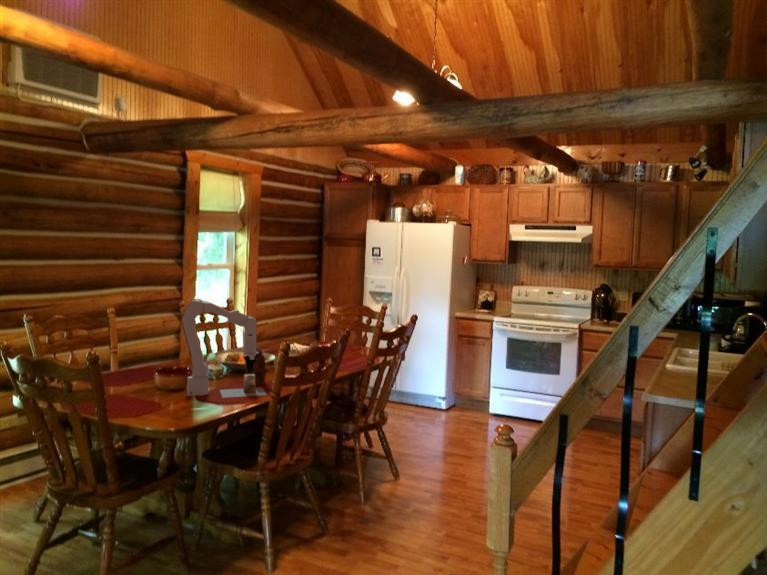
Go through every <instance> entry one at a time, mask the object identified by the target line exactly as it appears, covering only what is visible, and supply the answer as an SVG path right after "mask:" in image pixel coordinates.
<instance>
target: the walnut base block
mask: <svg viewBox="0 0 767 575" xmlns="http://www.w3.org/2000/svg"><path fill="white" fill-rule="evenodd" d="M256 388H257V384H255V385H245V384H244V383H243V388H242V389H243V391H244V393H245V394H248V393H256Z"/></svg>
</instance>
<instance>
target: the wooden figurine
mask: <svg viewBox="0 0 767 575" xmlns="http://www.w3.org/2000/svg"><path fill="white" fill-rule="evenodd" d="M256 352H259V354H256V355H255V356H256V358H257V359H256V361H255V363H254V366H253V371H252V372H247V368H246V367H245V374H254V375H255V384H256V386H258V385H264V384H265V382H266V357H265V356H264V353H263V351H262V350H261V349H260V348H257V347H256Z"/></svg>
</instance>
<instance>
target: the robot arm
mask: <svg viewBox="0 0 767 575" xmlns="http://www.w3.org/2000/svg"><path fill="white" fill-rule="evenodd" d="M201 313H203V314H204V313H205V314H206V313H213V314H217V315H218V316H222V317H224V318H226V319H227V321H228V322H229V323H231V324H234V325H236V326H239V327H243V328H244V332H243V355H244V356H243V359H244V361H245V362H244V363H245V366H246V367H245V369H246V368H247V372H252V371H253V366H254V363H255V361H256V359H257V358H256V356H255V355H256V354H259V352H256V348H257V326H258V323H257V319H256V318H255V317H253V316H252V315H251V316H249V314H244V313H241V312H240V310H238V309H236V310H234V309H232V310H230V311H229V310H227V309H225V308H223V307H222V306H219V305H217V304H215V303H213V302H210V301H208V300H202V299H200V298H195V299H193V300H192V301H191V302H190V303H189V304H188V305H187V306H186V308H185V311H184V315H183V317H182V318H181V321H182V324H183V325H182V326H183V329H184V332H185V335H186V336H185V337H186V340H187V343H188V348H189V351H190V356H191V362H192V370H191V371H192V375H191V376H187V387H186V393H187V397H190V396H191V397H192V396H205V395H208V394H209V374H208V369H209V364H208V362H207V361H206V359H205V356H204V355H203V352H202V351H203V350H202V348H201V347H202V346H201V344H200V341H199V336H198V332H197V329H196V325H195V320H196V318H197V317H198V316H199V315H201Z"/></svg>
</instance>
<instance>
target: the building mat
mask: <svg viewBox="0 0 767 575" xmlns="http://www.w3.org/2000/svg"><path fill="white" fill-rule="evenodd" d="M219 392H220V395H221V397H222V399H223V398H225V399H226V398H239V397H240V398H241V397H258V396H267V395H268V394H267V392H266V391H265V389H264V388H263V387H256V393H248V394H245V393H244V391H243V388H230V389H228V388H227V389H219Z"/></svg>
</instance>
